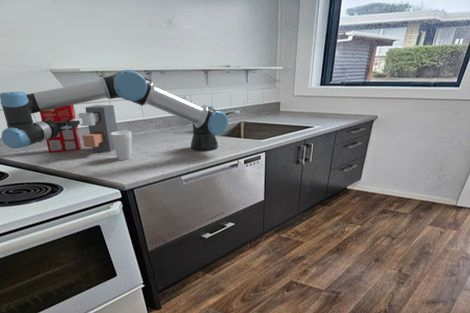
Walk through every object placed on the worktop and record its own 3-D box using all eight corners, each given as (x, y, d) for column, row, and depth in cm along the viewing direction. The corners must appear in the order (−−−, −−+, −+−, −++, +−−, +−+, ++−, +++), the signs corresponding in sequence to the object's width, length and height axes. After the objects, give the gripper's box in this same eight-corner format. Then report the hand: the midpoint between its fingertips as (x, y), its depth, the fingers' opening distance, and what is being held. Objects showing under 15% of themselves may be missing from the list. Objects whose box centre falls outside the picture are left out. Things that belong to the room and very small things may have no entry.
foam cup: (118, 155, 137) (114, 131, 134) (136, 155, 138) (133, 130, 134) (111, 161, 128) (107, 135, 125) (131, 160, 129) (127, 134, 125)
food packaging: (81, 147, 155) (73, 104, 147) (79, 150, 150) (70, 105, 143) (52, 150, 151) (42, 105, 144) (49, 152, 146) (38, 106, 139)
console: (110, 151, 146) (103, 107, 139) (93, 151, 147) (85, 107, 140) (119, 146, 155) (113, 105, 148) (103, 146, 156) (96, 105, 149)
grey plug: (91, 125, 132) (89, 113, 131) (80, 125, 133) (78, 113, 131) (105, 121, 145) (104, 110, 143) (95, 121, 145) (93, 110, 143)
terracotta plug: (95, 147, 136) (93, 135, 134) (84, 147, 136) (82, 135, 134) (109, 141, 148) (107, 130, 146) (98, 141, 148) (96, 130, 147)
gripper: (30, 139, 109) (69, 128, 131) (61, 139, 107) (94, 128, 130) (26, 121, 106) (66, 113, 129) (57, 121, 105) (92, 113, 128)
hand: (80, 120), depth 129 cm, fingers closed
